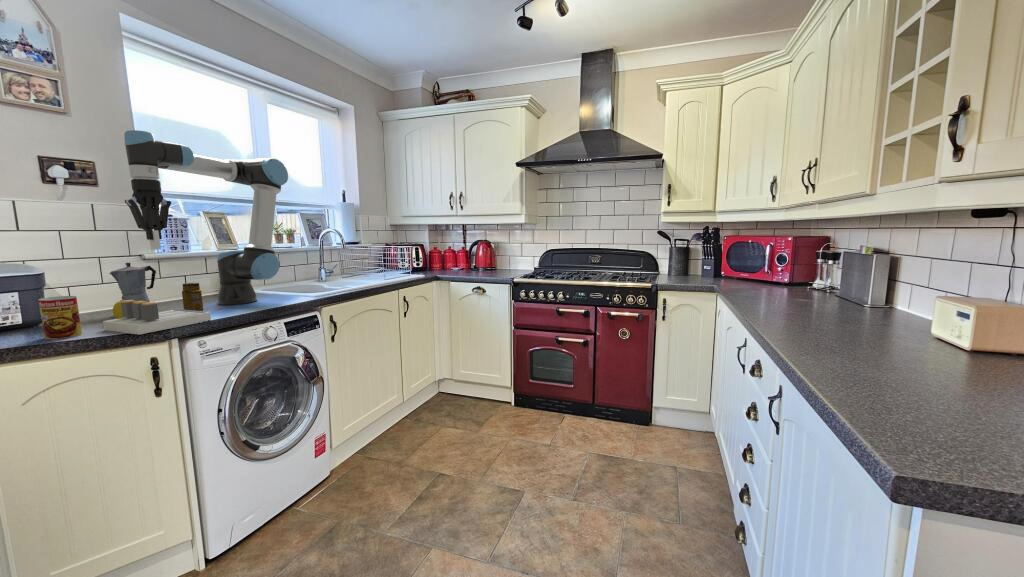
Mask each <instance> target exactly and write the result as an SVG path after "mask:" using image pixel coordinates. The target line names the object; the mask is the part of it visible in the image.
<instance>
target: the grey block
mask: <svg viewBox="0 0 1024 577" xmlns="http://www.w3.org/2000/svg"><path fill="white" fill-rule="evenodd" d="M140 306H141V313H142V320H145V321H150V320H156V319H159V315H158V312H159V308H158V304H157V303H156V302H154V301H153V302H152V301H150V302H147V303H142V305H140Z"/></svg>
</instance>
